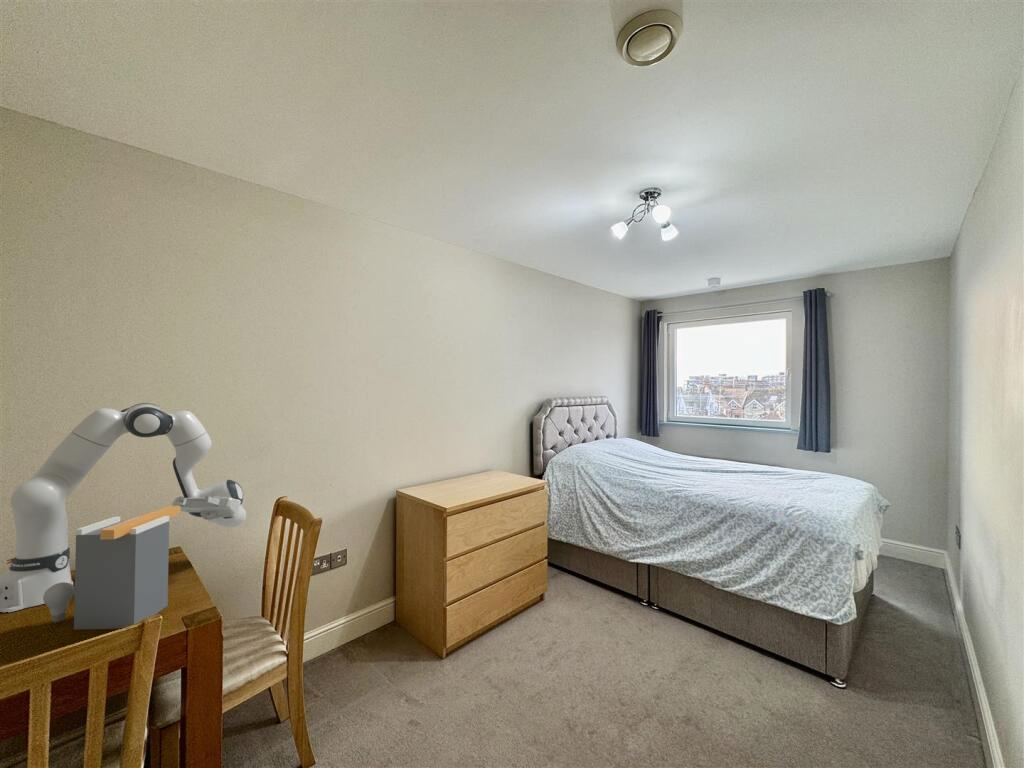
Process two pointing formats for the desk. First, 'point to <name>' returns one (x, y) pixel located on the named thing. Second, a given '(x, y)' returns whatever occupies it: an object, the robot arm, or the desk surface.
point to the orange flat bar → (137, 522)
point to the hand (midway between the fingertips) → (192, 498)
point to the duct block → (120, 574)
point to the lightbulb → (58, 599)
